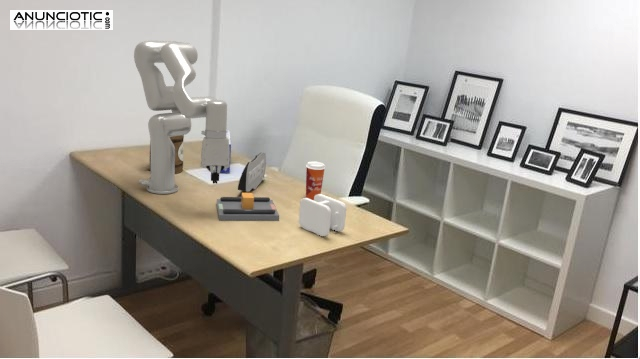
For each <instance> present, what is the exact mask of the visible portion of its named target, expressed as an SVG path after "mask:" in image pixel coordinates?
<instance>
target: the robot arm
mask: <svg viewBox="0 0 640 359" xmlns="http://www.w3.org/2000/svg"><path fill="white" fill-rule="evenodd" d="M133 60H134V63H135V67H136V69H137V71H138V74H139V76H140V79H141V84H142V87H143V92H144V97H145V101H146V104H147V106H148V108H149V110H151V111H154V112H155V111H157V112H159V111H160V112H161V111H163V112H164V111H171V112H166V113H165V112H164V113H157V114H154V115H152V116H151V117H150V118H149V119H148V122H147V125H148V126H147V127H148V133H149V139H150V140H149V142H150V141H151V171H150V177H149V178H147V179H144V178H143V179H141V178H139V180H138V184H139V185H141V186H146V191H148V192H149V193H151V194H155V195H156V194H158V195H167V194H169V195H170V194H174V193H176V192H178V191H179V186H178V185H177V184H175V181H176V180H175V175H176V174H175V147H174V144H173V143H172V141H171V139H170V137H173V136H181V135H184V136H185V135H188V134H189V133H190V132H191V130H192V121H191V120H192V119H198V118H199V119H201V118H205V128H204V130H201V135H203V136H204V137H203V138H202V139H203V140H202V146H201V154H200V155H201V156H200V158H201V161H200V167H201V168H203V169H206V170H208V171H209V172H210V182H212V184H215V185H217V184H218V182H220V174H221V173H220V172H221V171H222V170H223V169H224V168H229V167H230V168H231V156H230V148H229V140H228V138H227V137H226V130H228V129H227V126H228V125H227V122H228V121H227V120H228V119H227V118H228V117H227V116H228V104H227V102H226V101H225V100H222V99H217V98H215V97H213V96H200V97H199V96H196V97H192V96H191V97H190V96H189V94H188V93H187V91H186V88H185V87H187V86H188V85H190V84H191V83H193V81H194V80H195V79H196V76H197V73H196V70H195V69H194V67H193V65H194V64H196V63H197V61H198V51H197V49H196V47H195V46H194V45H193V44H192V43H189V42H182V41H176V40H173V41H172V40H143V41H140V42H139V43H137V44H136V46H135V48H134V51H133ZM160 63H161V64H164V65H165V67H166V68H167V71H168V72H169V75H171V77H172V79H173V81H174V84H173V85H169V86H167V85H166V83H165V79H164V78H165V77H164V75H163V73H162V72H161V70H160V68H158V66H156V65H155V64H160ZM229 162H230V164H229ZM216 166H217V170H216V169H215V170H214V167H216Z"/></svg>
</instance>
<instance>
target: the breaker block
mask: <svg viewBox="0 0 640 359" xmlns="http://www.w3.org/2000/svg"><path fill="white" fill-rule="evenodd" d="M241 199H242V196H220V197H219V198H216V208H217V214H218V220H219V221H258V222H259V221H262V222H263V221H268V222H269V221H271V222H273V221H280V214H279V212H278V210H277V209H278V208H277V207H276V206H275V203H274V201H273V199H271V198H270V197H268V196H267V197H263V196H262V197H260V196H259V197H258V196H257V197H256V196H254V207H253V209H243V208H242V205H241Z"/></svg>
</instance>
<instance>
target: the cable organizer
mask: <svg viewBox="0 0 640 359" xmlns="http://www.w3.org/2000/svg"><path fill="white" fill-rule="evenodd" d="M346 216H347V204H345V202H344V201H341V200H338V199H335V198H333V197H330V196H327V195H325V194H322V193H321V194H317V195H315V196H314V200H311V199H309V198H306V197H304V198H301V199H300V202H299V214H298V224H299V226H300V227H301V228H303V230H305V231H308V232H312V233H314V234H315V235H316V236H319V235H320V236H319V237H321V236H324V237H326V236H329V234H330V230H331V229H332V231H334V230H335V231H334V232H336V231H338V232H341V231H343V230H345V226H346Z"/></svg>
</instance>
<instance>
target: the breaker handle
mask: <svg viewBox="0 0 640 359" xmlns="http://www.w3.org/2000/svg"><path fill="white" fill-rule="evenodd" d="M241 197H242V199H241V205H242V208H243V209H253V207H254V197H255V196H254V193H253V192H241Z"/></svg>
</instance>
